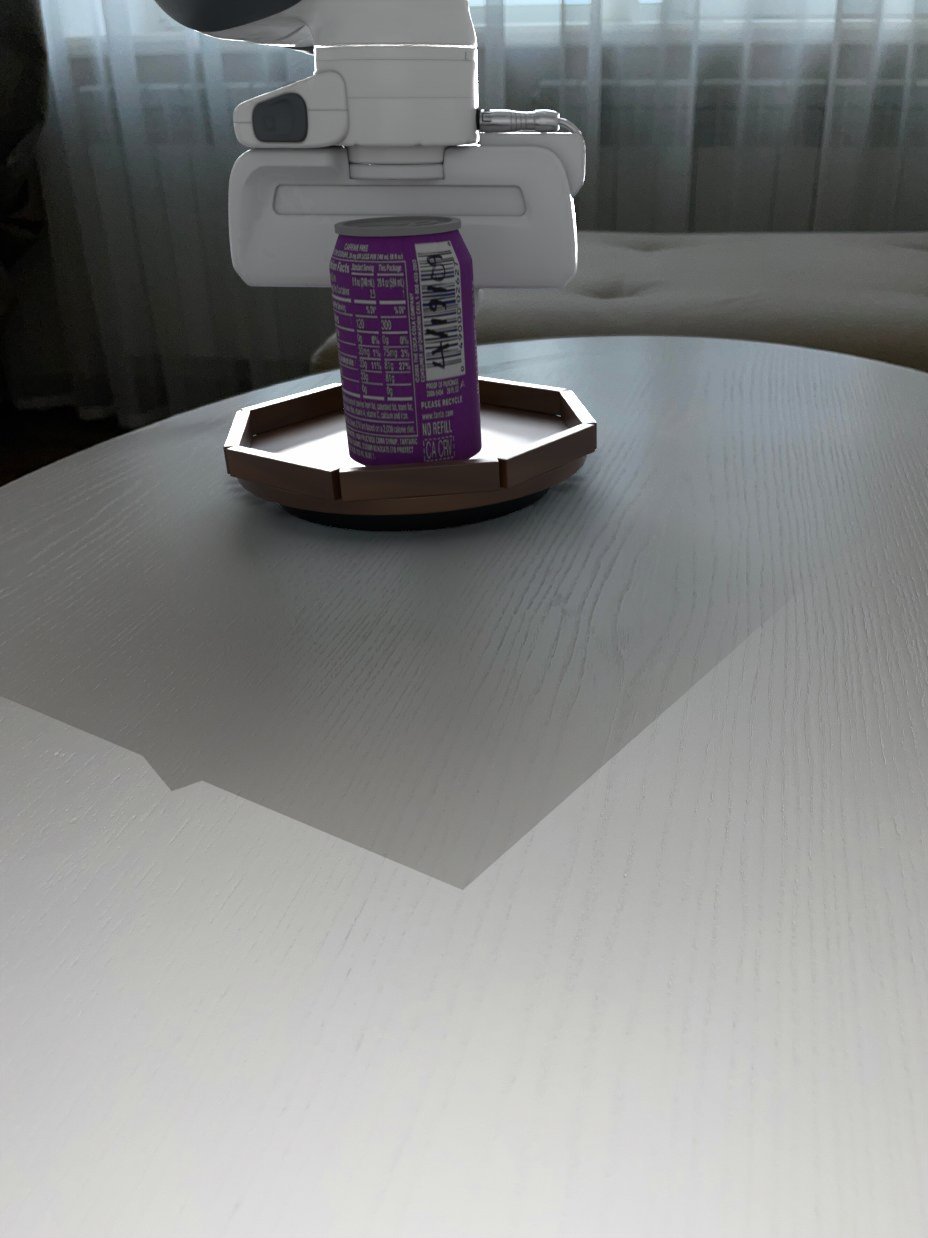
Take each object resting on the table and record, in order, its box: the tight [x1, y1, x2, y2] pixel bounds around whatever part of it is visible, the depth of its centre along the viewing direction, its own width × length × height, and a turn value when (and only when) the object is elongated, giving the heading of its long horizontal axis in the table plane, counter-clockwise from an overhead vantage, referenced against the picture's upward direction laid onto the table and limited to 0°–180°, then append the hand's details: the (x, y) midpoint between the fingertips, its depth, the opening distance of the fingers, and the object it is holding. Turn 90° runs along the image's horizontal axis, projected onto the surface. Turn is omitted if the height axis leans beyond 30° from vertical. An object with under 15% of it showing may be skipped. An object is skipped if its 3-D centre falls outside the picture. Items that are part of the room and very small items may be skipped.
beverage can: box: [329, 216, 482, 466], centre depth 56 cm, size 7×7×12 cm
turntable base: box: [278, 487, 552, 533], centre depth 64 cm, size 16×16×2 cm
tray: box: [222, 375, 598, 515], centre depth 62 cm, size 20×20×7 cm
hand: (411, 364), depth 68 cm, fingers open, 4 cm apart
